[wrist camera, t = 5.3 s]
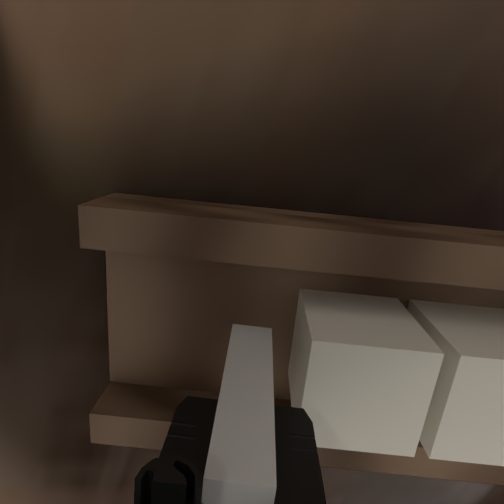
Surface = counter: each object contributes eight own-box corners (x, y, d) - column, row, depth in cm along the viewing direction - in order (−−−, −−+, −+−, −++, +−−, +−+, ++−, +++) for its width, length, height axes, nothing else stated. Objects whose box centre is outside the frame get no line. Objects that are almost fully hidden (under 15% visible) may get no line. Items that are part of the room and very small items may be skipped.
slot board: (119, 394, 18) (90, 442, 15) (114, 192, 15) (77, 204, 12) (521, 434, 17) (571, 492, 15) (599, 240, 14) (681, 264, 12)
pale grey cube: (287, 371, 16) (295, 444, 12) (299, 288, 14) (312, 340, 11) (377, 380, 16) (414, 457, 12) (397, 297, 14) (444, 353, 11)
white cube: (389, 381, 16) (429, 458, 12) (409, 299, 14) (461, 355, 11) (479, 390, 16) (548, 471, 12) (507, 309, 14) (594, 368, 11)
